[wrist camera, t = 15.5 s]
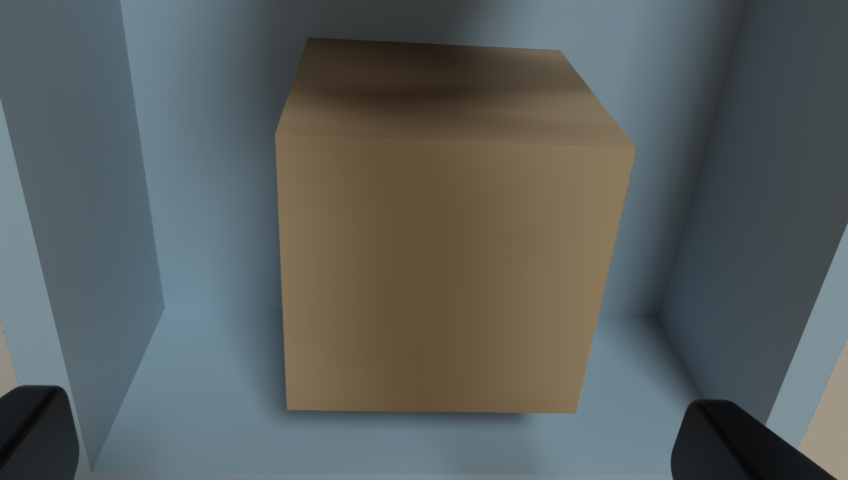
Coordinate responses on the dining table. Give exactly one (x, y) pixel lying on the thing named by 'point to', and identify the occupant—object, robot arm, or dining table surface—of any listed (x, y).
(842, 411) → the dining table surface
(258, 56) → the tote
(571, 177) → the walnut cube
